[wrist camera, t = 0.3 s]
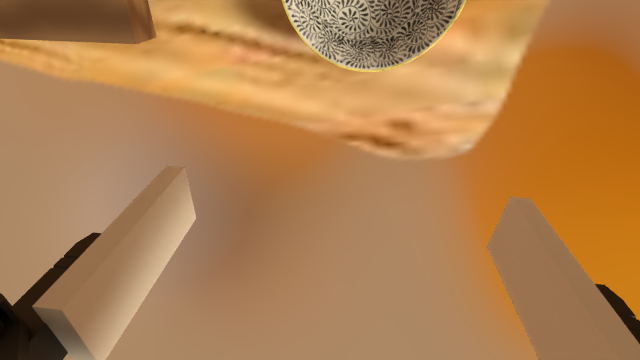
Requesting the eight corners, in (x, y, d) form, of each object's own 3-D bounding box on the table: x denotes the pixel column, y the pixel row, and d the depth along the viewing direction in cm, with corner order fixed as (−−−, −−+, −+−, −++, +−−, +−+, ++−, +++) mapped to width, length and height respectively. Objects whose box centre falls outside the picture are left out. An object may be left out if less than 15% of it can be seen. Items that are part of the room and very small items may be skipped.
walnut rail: (-11, -18, 36) (-49, -16, 32) (144, -13, 34) (121, -11, 31) (12, 31, 38) (-20, 37, 35) (156, 37, 37) (136, 44, 34)
